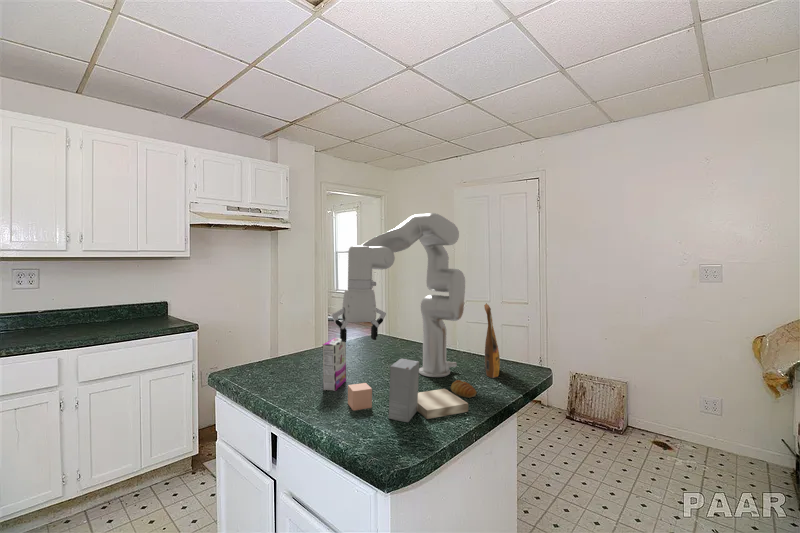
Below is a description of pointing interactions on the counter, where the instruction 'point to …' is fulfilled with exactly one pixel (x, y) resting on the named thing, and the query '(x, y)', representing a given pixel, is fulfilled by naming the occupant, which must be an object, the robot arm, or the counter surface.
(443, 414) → the birch board
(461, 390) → the pastry
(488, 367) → the pancake mix bag
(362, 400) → the terracotta cube
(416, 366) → the skincare box
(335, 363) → the candy bar box
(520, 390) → the counter surface
